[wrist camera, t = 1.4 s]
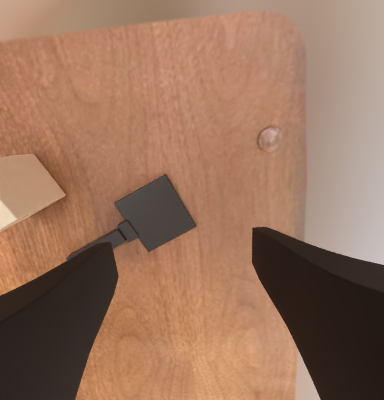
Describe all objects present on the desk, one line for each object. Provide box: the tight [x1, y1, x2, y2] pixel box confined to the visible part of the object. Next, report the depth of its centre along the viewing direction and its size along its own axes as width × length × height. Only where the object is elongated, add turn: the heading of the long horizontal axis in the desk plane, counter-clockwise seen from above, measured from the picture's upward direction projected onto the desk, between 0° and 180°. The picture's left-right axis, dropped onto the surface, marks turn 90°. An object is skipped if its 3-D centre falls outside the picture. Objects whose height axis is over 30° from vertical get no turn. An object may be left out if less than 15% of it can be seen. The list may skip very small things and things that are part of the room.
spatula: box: [66, 174, 196, 260], centre depth 20 cm, size 13×6×1 cm, turn 118°
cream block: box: [0, 153, 66, 232], centre depth 15 cm, size 4×4×6 cm
